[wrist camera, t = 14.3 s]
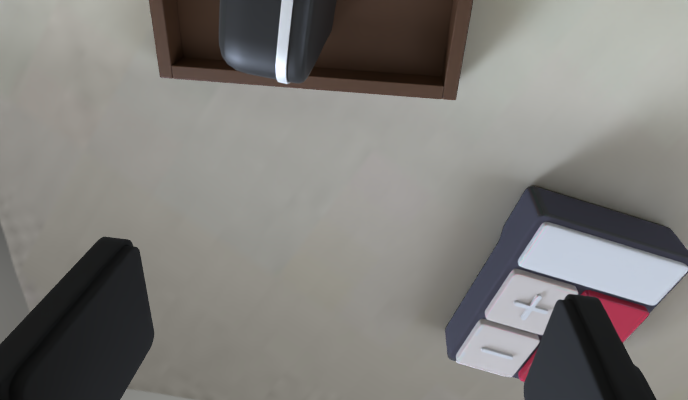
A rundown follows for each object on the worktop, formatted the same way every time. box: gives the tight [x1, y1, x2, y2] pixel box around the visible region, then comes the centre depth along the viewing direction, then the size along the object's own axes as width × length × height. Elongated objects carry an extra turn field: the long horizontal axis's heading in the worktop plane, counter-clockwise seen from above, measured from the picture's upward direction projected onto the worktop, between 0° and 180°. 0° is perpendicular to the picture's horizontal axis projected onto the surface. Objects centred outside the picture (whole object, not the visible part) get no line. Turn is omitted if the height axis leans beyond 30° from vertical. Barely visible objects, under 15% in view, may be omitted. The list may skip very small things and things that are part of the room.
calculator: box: [445, 186, 688, 382], centre depth 36 cm, size 11×4×15 cm
